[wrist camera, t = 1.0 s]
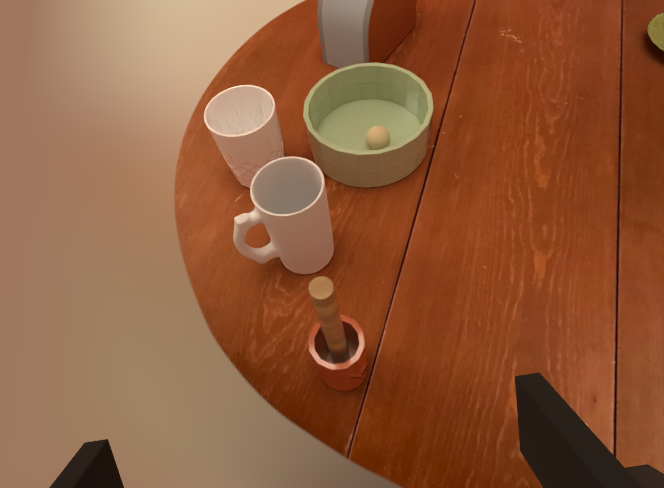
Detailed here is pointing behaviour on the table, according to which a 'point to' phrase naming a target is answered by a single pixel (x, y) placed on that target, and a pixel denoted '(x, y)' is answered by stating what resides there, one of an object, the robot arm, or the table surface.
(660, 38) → the mat
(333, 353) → the stick
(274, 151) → the white cup
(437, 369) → the table surface
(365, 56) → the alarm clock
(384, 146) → the dough ball
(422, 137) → the bowl
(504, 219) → the table surface
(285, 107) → the table surface
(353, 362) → the crock
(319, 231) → the mug
